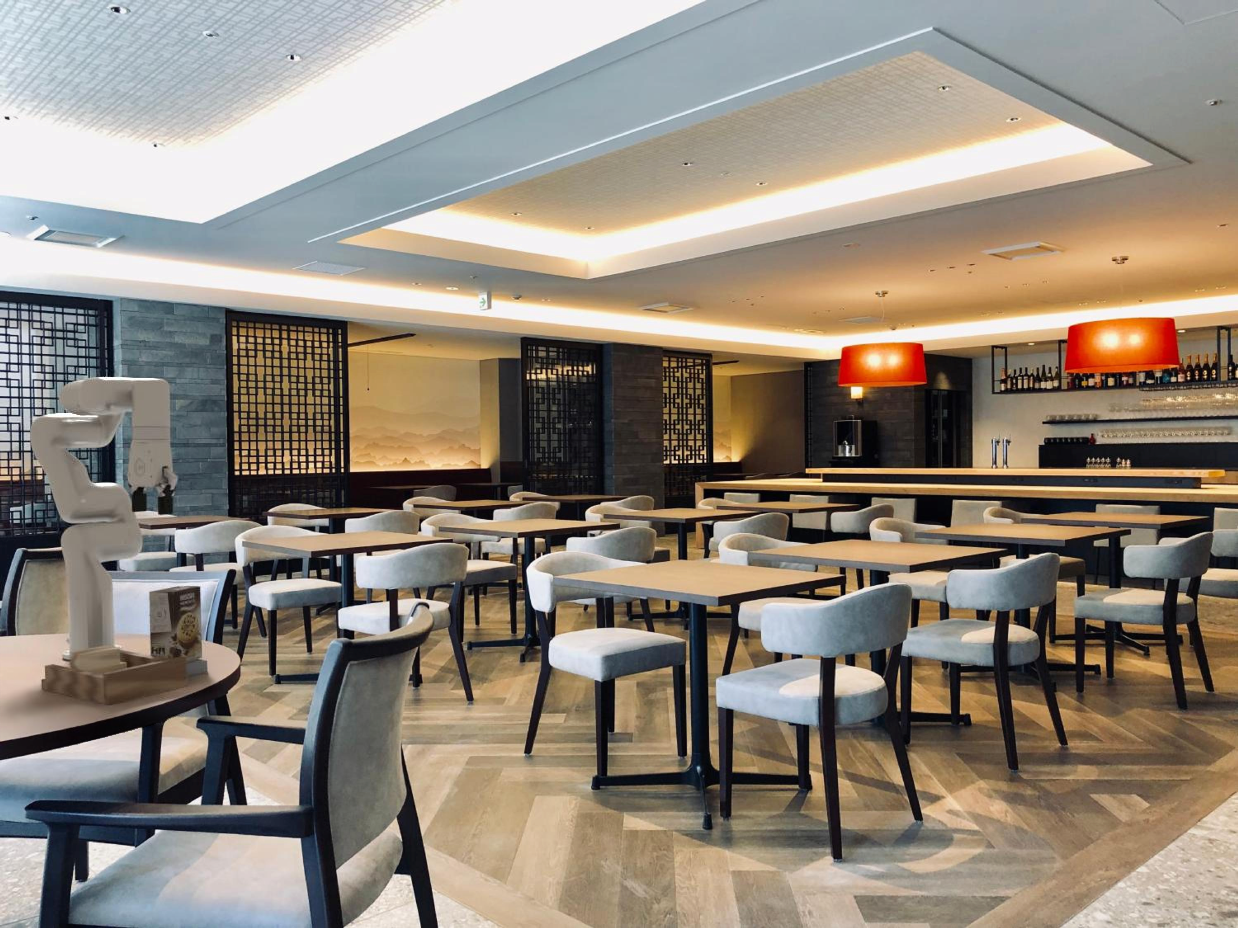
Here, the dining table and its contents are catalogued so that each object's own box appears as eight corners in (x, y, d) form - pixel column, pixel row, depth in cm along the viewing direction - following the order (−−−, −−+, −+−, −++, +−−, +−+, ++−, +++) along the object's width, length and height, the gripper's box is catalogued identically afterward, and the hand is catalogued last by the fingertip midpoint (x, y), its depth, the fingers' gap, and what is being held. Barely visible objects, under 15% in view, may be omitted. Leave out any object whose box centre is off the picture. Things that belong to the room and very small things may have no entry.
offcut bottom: (64, 688, 202) (64, 669, 202) (111, 677, 210) (111, 659, 210) (80, 692, 198) (79, 672, 198) (127, 681, 207) (126, 662, 207)
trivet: (146, 674, 211) (146, 662, 211) (180, 666, 218) (180, 655, 218) (173, 679, 206) (173, 667, 206) (207, 671, 213) (207, 660, 213)
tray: (41, 688, 200) (40, 659, 200) (119, 671, 214) (118, 644, 214) (108, 705, 187) (107, 674, 186) (187, 685, 200) (186, 657, 200)
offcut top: (70, 668, 203) (69, 651, 203) (110, 661, 209) (110, 644, 208) (79, 671, 199) (78, 654, 199) (120, 664, 205) (119, 647, 205)
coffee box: (175, 667, 207) (172, 591, 206) (149, 665, 208) (147, 591, 208) (204, 657, 215) (201, 585, 215) (179, 656, 217) (177, 584, 217)
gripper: (112, 434, 214) (113, 511, 215) (158, 436, 205) (159, 517, 205) (144, 434, 220) (145, 509, 221) (190, 435, 211) (191, 514, 212)
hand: (152, 513), depth 213 cm, fingers open, 9 cm apart
